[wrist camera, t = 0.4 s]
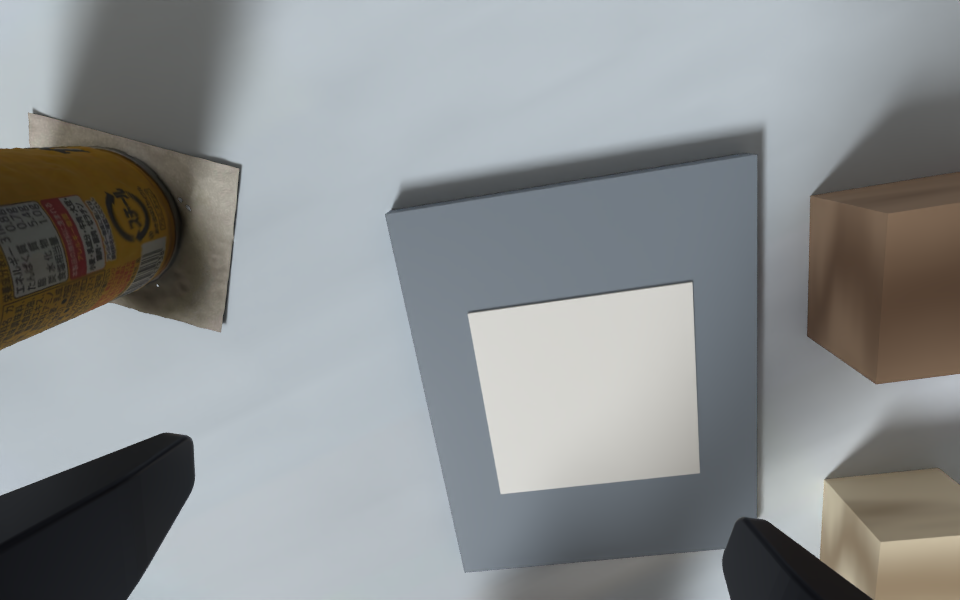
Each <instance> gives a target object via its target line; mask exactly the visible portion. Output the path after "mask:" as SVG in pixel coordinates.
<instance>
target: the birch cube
mask: <svg viewBox="0 0 960 600" xmlns="http://www.w3.org/2000/svg"><path fill="white" fill-rule="evenodd" d="M820 560H821V561H822V562H823V563H825V564H826V565H827V566H829V567H830V568H832V569H833V570H834V571H836V572H837V573H838V574H840V575H841V576H842V577H844V578H845V579H846V580H848V581H849V582H850V583H852V584H853V585H854V586H856V587H857V588H858V589H860V590H861V591H863V592H864V593H865V594H867V595H868V596H869V597H871V598H872V599H873V600H960V485H959V484H958V483H957V482H956V481H954V480H953V479H952V478H950V477H949V476H948V475H947V474H945V473H944V472H943V471H942V470H940V469H939V468H932V469H922V470H912V471H902V472H892V473H882V474H872V475H861V476H851V477H841V478H831V479H824V492H823V511H822V530H821V548H820Z"/></svg>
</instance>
